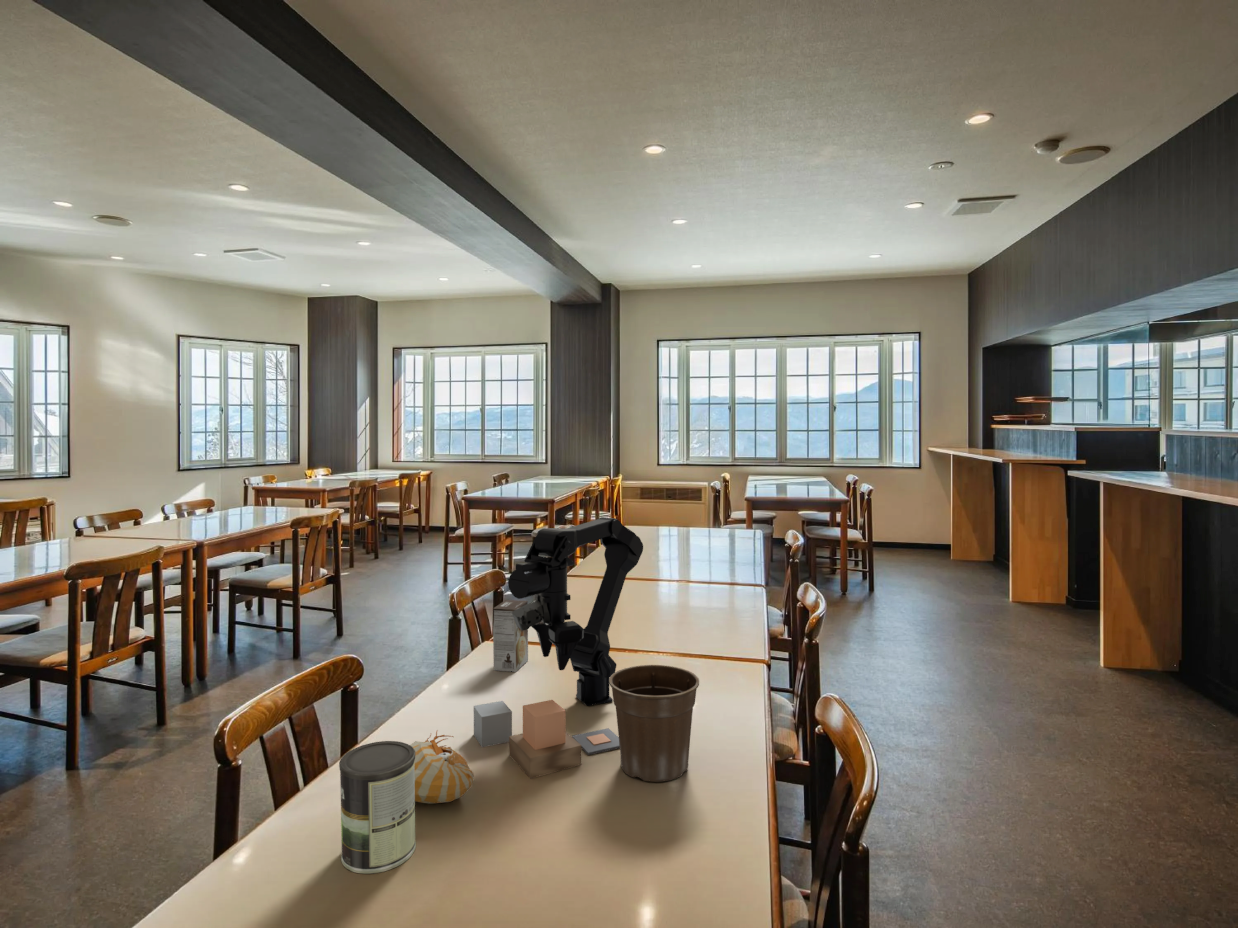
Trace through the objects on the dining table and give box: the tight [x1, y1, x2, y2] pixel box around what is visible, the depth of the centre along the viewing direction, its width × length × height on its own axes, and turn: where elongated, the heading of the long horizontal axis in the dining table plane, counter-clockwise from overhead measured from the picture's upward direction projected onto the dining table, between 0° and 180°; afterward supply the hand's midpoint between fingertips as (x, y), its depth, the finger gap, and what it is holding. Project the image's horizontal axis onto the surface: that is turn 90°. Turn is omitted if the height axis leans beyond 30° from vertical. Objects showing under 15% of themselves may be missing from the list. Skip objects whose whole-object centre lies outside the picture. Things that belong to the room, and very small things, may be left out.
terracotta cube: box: [522, 699, 567, 750], centre depth 128 cm, size 6×6×6 cm
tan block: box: [508, 731, 582, 780], centre depth 128 cm, size 10×10×4 cm
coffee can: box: [338, 740, 417, 875], centre depth 100 cm, size 10×10×14 cm
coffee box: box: [492, 599, 529, 673], centre depth 179 cm, size 9×6×16 cm
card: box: [571, 727, 620, 756], centre depth 135 cm, size 8×8×1 cm
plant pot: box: [609, 664, 700, 783], centre depth 125 cm, size 16×16×16 cm
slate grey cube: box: [473, 700, 513, 748], centre depth 137 cm, size 6×6×6 cm
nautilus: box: [409, 729, 475, 804], centre depth 118 cm, size 8×22×15 cm
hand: (553, 662), depth 145 cm, fingers open, 9 cm apart
